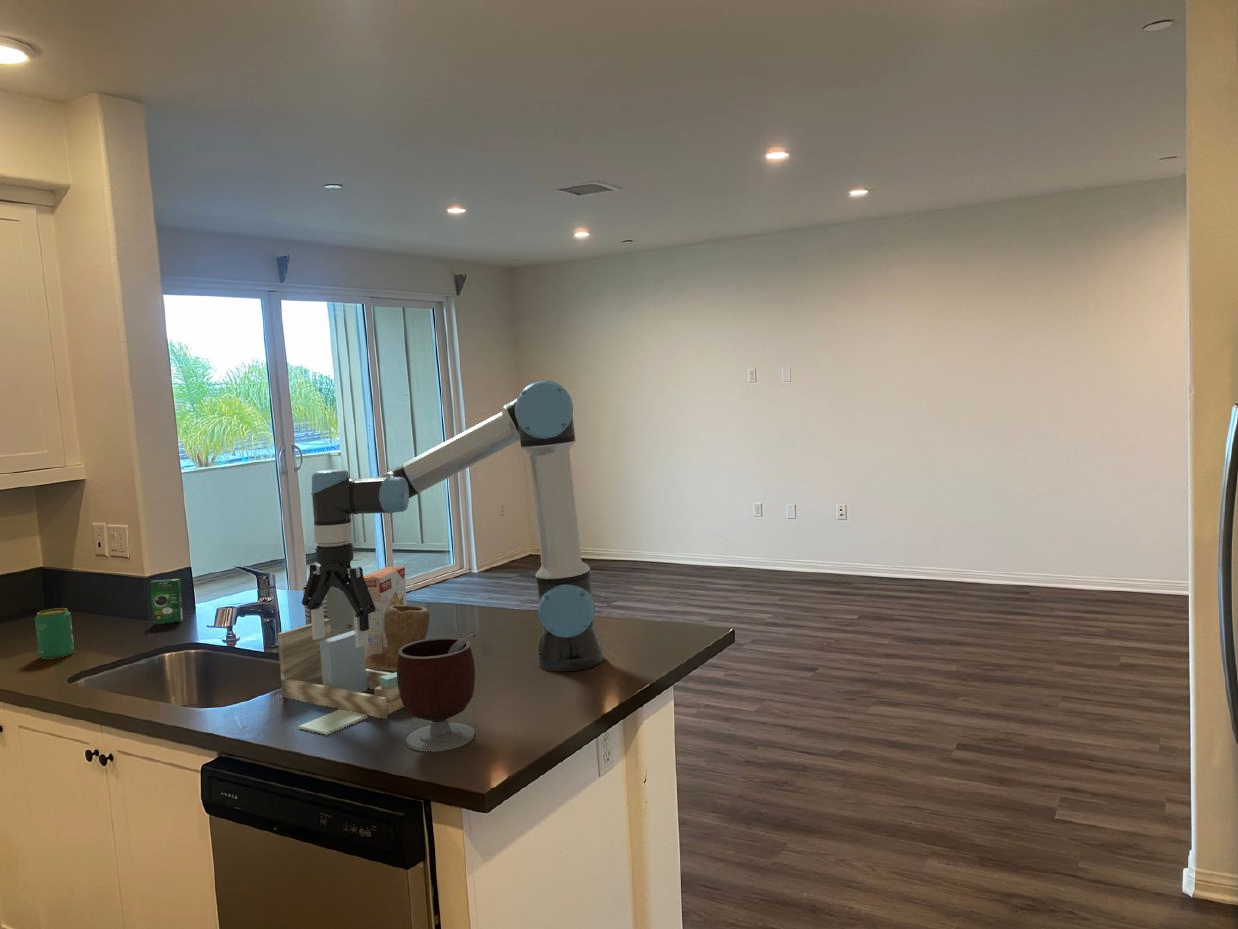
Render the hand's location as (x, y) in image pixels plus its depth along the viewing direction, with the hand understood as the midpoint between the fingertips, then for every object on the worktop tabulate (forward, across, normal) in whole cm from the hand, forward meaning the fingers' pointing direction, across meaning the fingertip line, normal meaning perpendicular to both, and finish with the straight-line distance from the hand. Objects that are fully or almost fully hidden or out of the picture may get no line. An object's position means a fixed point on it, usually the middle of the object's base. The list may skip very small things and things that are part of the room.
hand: (340, 642), depth 191 cm
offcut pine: (+10, -15, 0) cm, 18 cm away
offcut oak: (+12, -15, 0) cm, 19 cm away
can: (+12, +57, -42) cm, 72 cm away
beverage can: (+13, +101, +10) cm, 102 cm away
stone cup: (+12, +3, -19) cm, 23 cm away
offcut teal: (+7, -15, 0) cm, 17 cm away
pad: (+12, -11, +12) cm, 20 cm away
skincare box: (+12, +36, -32) cm, 50 cm away
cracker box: (+12, +15, -26) cm, 32 cm away
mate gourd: (+12, -37, +9) cm, 40 cm away
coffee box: (+13, +106, -24) cm, 109 cm away
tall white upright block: (+12, 0, 0) cm, 12 cm away
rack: (+12, -3, 0) cm, 12 cm away
